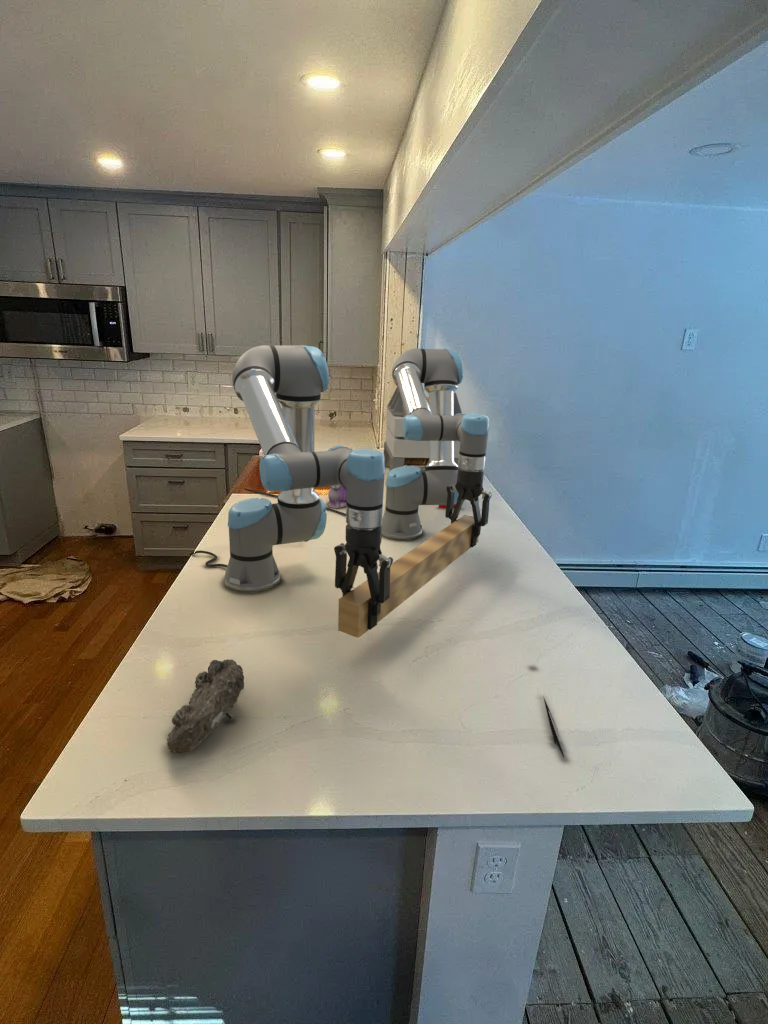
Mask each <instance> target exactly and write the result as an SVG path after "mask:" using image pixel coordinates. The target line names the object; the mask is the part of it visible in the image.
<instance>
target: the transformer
mask: <svg viewBox="0 0 768 1024" xmlns="http://www.w3.org/2000/svg"><path fill="white" fill-rule="evenodd" d="M426 399H427V402H428V405H429V396H426ZM459 413H462V414H463V411H462V408H461V405H460V402H459V398H458V395H457V392H456V391H455V392H454V393H453V416H454V415H456V414H459ZM385 414H386V415H385V423H386V428H385V438H384V442H383V455H384V466H385V467H388V468H389V471H391V470H392V469H394V468H397V467H402V466H412V467H413V466H415V467H425V466H426V465H427V464H428V463H429V441H414V440H406V439H405V438H404V437H403V431H402V424H403V418H404V416H405V415H406V412H405V409H404V405H403V402H402V398H401V395H400V391H399V387H398V386H396V388H395V390H394V392H393V394H392V395H391V398H390V400H389V402H388V404H387V405H386V413H385ZM459 451H460V441H454V462H455V463H456V464H457V465H458V462H459ZM458 469H459V467H458Z"/></svg>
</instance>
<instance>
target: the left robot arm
mask: <svg viewBox="0 0 768 1024" xmlns="http://www.w3.org/2000/svg"><path fill="white" fill-rule="evenodd" d="M329 373H330V372H329V367H328V363H327V360H326V358H325V355H324V354H323V352H322V350H321V349H319V348H318V347H317V346H312V345H311V346H310V345H304V344H301V345H297V344H296V345H294V344H293V345H267V344H265V345H264V344H263V345H258V346H254V347H252V348H250V349H248V350H246V351H245V352H244V353H242V355H241V356H240V357H239V358H238V360H237V361H236V363H235V365H234V368H233V371H232V375H231V376H232V377H231V379H232V380H231V382H232V387H233V390H234V392H235V393H234V394H235V395H236V396H237V398H238V399H239V400H240V401H242V402H243V404H244V406H245V407H244V408H245V410H246V412H247V414H248V417H249V419H250V422H251V425H252V427H253V430H254V432H255V435H256V437H257V441H258V443H259V445H260V448H261V451H262V453H263V456H261V458H260V459H259V464H258V467H259V477H260V482H261V485H262V488H263V489H264V490H266V491H268V492H279V493H278V494H277V495H278V497H277V502H276V503H275V502H274V503H272V501H271V500H269V499H268V498H265V497H261V498H259V497H253V498H252V497H251V498H247V499H243V500H240V501H238V502H236V503H234V504H233V505H232V506H231V507H230V508H229V510H228V513H227V515H228V516H227V517H228V518H227V528H228V540H229V541H228V543H229V559H228V563H227V564H224V563H212V562H214V561H216V560H217V559H218V556H217V555H216V554H215V553H213V552H210V551H207V550H193V551H191V553H189V556H193V555H196V554H206V555H210V556H212V557H213V558H211V559H209V560H207V561H205V562H204V563H205V567H207V568H213V567H223V568H226V569H225V572H224V584H225V586H226V587H227V588H228V589H230V590H232V591H234V592H238V593H245V594H246V593H247V594H248V593H260V592H266V591H268V590H270V589H272V588H274V587H276V586H277V585H278V584H279V583H280V580H281V577H280V575H281V574H280V570H279V567H278V565H277V562H276V559H275V557H274V553H273V547H274V546H278V545H279V546H280V545H287V544H292V543H293V544H294V543H302V542H304V543H305V542H306V543H307V542H309V541H313V540H318V539H320V537H321V536H323V534H324V533H325V530H326V527H327V519H328V515H327V512H326V511H327V509H326V507H327V506H326V503H325V502H324V501H323V499H322V498H320V494H319V493H317V491H316V490H315V488H325V487H330V486H336V485H342V486H343V487H345V488H346V489H347V499H346V506H345V507H346V508H345V509H346V510H345V514H346V516H345V523H346V525H345V542H346V543H344V542H341V543H339V544H338V545H336V546H334V547H333V551H334V554H335V569H334V570H335V572H334V588H336V589H339V590H341V593H342V597H343V596H344V595H346V594H347V593H349V592H350V591H352V590H353V589H355V586H354V584H355V581H356V576H357V574H358V570H359V568H360V567H361V568H362V569H363V572H364V574H365V576H366V580H368V585H369V590H370V595H371V601H370V602H368V627H367V629H369V630H368V631H371V630H372V629H374V628H375V627H376V626H378V623H377V616H378V615H379V614H380V612H381V603H384V602H385V601H387V600H388V599H389V598H390V567H391V565H392V563H393V562H394V559H393V557H391V556H389V557H387V556H385V555H384V554H383V552H382V549H381V544H382V537H383V535H382V526H381V524H382V519H383V515H384V511H383V510H384V492H385V491H384V490H385V477H386V466H384V453H383V452H381V451H380V450H377V449H372V448H355V449H353V448H350V447H347V446H345V445H334V446H332V447H330V448H329V449H328V450H322V451H321V450H320V451H315V430H316V429H315V428H316V427H315V426H316V425H315V421H316V420H315V419H316V417H315V416H316V414H315V413H316V411H315V410H316V409H315V408H316V405H317V404H318V403H319V402H320V401H321V393H324V392H326V391H327V390H328V388H329V384H330V383H329V382H330V375H329ZM195 551H196V552H195ZM194 552H195V553H194ZM348 557H349V558H348ZM348 559H349V560H348ZM378 561H379V564H378ZM378 567H379V571H378ZM378 572H379V577H378Z"/></svg>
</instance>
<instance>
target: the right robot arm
mask: <svg viewBox="0 0 768 1024" xmlns="http://www.w3.org/2000/svg"><path fill="white" fill-rule="evenodd" d="M391 377H392V380H393V383H394V384H395V387H397V386H398V387H399V391H400V395H401V398H402V402H403V405H404V409H405V412H406V415H405V416H404V418H403V424H402V431H403V437H404V438H405V439H406V440H414V441H429V463H428V464H427V465H426V466H424V471H422V469H421V467H420V466H407V465H404V466H402V467H397V468H394V469H392V470H391V471H390V470H388V473H387V475H386V480H385V481H386V482H385V504H384V505H385V507H384V508H385V509H384V512H383V516H382V524H381V526H382V537H385V538H387V539H389V540H395V541H410V540H415V539H418V538H420V537H421V536H422V535H423V525H422V524H421V518H420V515H419V507H420V506H439V505H446V508H445V515H444V517H445V518H446V519H449V520H450V524H452V523H453V522H455V521H456V520H458V519H459V516H460V513H461V510H462V507H463V504H464V503H465V501H466V500H467V501H469V502H470V505H471V510H472V517H474V523H475V525H474V526H472V534H471V544H470V547H471V548H474V547H475V546H476V545H477V543H478V542H477V537H478V536H479V537H480V535H481V531H482V527H485V526H486V525H488V524H489V511H490V502H491V501H490V500H491V498H492V496H493V493H492V492H491V491H490V492H488V491H486V490H485V488H484V486H483V485H484V475H485V471H484V469H485V468H486V467H485V466H486V456H487V449H488V448H487V447H488V438H489V432H490V419H489V417H488V416H487V415H485V414H481V413H463V412H462V413H459V414H456V415H454V416H453V393H454V392H455V393H456V391H457V389H458V386H459V385H460V384H462V382H463V378H464V363H463V360H462V356H461V355H460V353H459V351H457V350H455V349H447V348H419V347H418V348H417V347H416V348H411V349H408V350H406V351H404V352H402V354H400V355H399V356H398V357H397V358H396V359H395V361H394V363H393V366H392V370H391ZM423 386H424V387H423ZM425 392H426V393H427V394H428V397H429V405H428V402H427V399H426V397H427V396H426V393H425ZM454 441H460V451H459V462H458V465H457V464H456V463H455V462H454ZM458 467H459V469H458ZM243 491H248V492H252V493H255V494H259V495H265V496H270V497H273V498H278V495H279V494H273V493H267V492H263V491H260V490H254V489H250V488H247V487H245V488H244V489H243ZM480 496H481V499H482V504H481V509H480ZM453 504H456V505H455V508H453ZM325 507H326V511H331V512H334V513H337V514H340V515H342V516H345V517H346V512H342V511H339V510H338V509H337V510H336V509H335V508H332V507H328V506H325ZM476 542H477V543H476Z"/></svg>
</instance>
